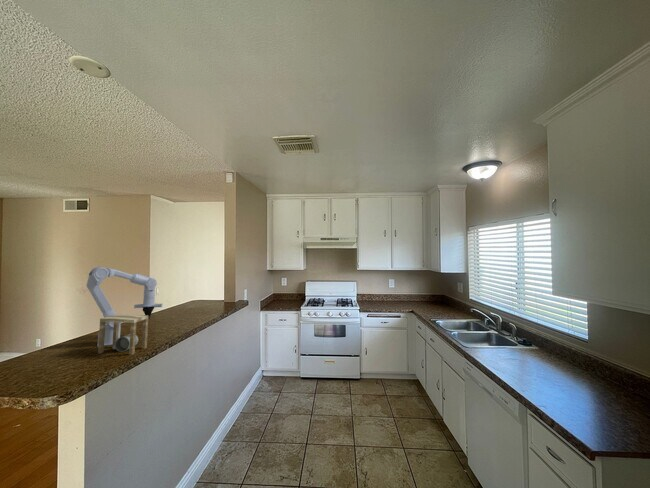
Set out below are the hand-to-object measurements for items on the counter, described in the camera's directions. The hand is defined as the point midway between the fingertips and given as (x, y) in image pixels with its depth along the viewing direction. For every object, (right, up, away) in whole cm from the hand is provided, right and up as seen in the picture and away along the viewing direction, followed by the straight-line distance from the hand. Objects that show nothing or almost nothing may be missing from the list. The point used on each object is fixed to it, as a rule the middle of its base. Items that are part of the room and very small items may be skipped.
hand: (147, 319), depth 158 cm
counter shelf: (+4, -9, -24) cm, 26 cm away
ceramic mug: (+3, -10, -22) cm, 24 cm away
